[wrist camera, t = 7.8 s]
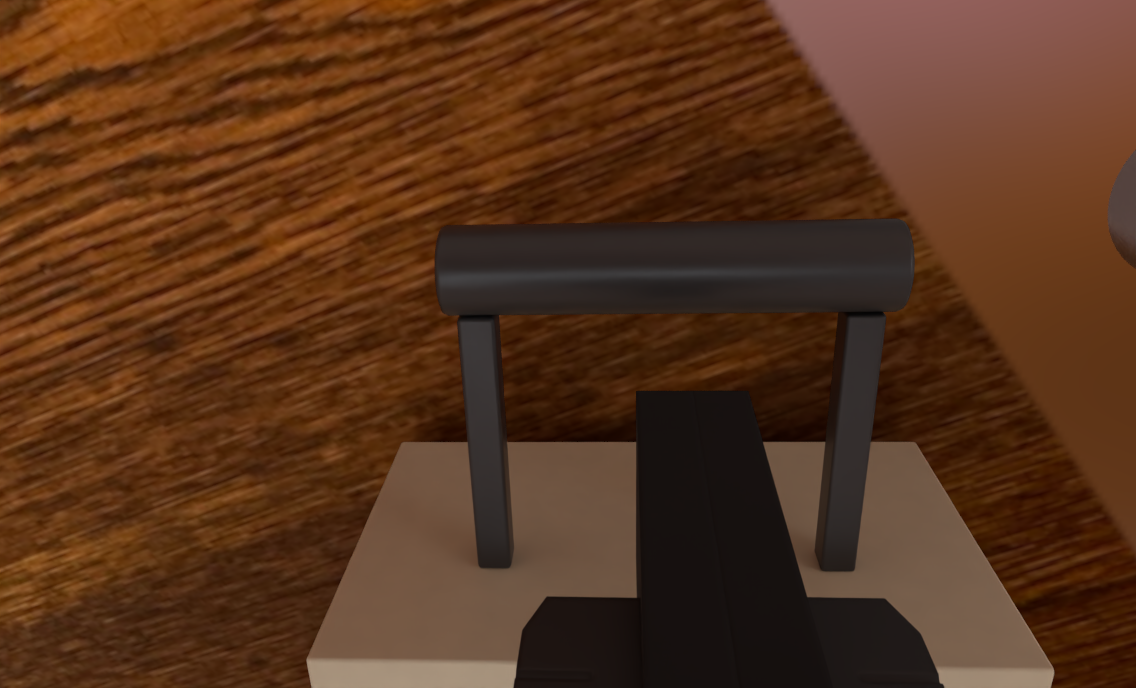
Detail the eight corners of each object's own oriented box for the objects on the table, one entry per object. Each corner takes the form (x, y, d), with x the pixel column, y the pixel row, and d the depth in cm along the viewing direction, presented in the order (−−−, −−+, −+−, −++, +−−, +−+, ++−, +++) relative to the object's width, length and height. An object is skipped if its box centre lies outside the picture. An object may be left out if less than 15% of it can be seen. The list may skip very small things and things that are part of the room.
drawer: (368, 168, 18) (232, 286, 11) (957, 157, 17) (1156, 275, 11) (450, 849, 25) (397, 1139, 19) (853, 860, 25) (933, 1163, 19)
